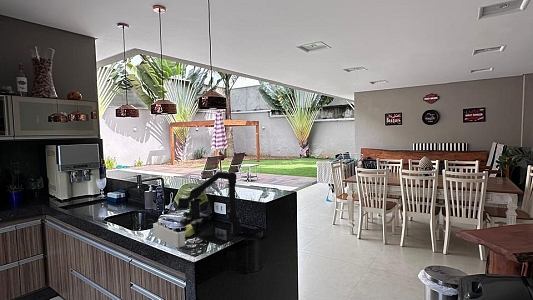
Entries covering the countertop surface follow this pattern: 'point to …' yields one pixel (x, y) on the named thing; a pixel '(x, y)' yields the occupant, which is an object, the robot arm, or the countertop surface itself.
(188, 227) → the banana
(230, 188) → the robot arm
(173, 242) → the rack
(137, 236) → the countertop surface
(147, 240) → the countertop surface
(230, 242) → the countertop surface
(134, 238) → the countertop surface
